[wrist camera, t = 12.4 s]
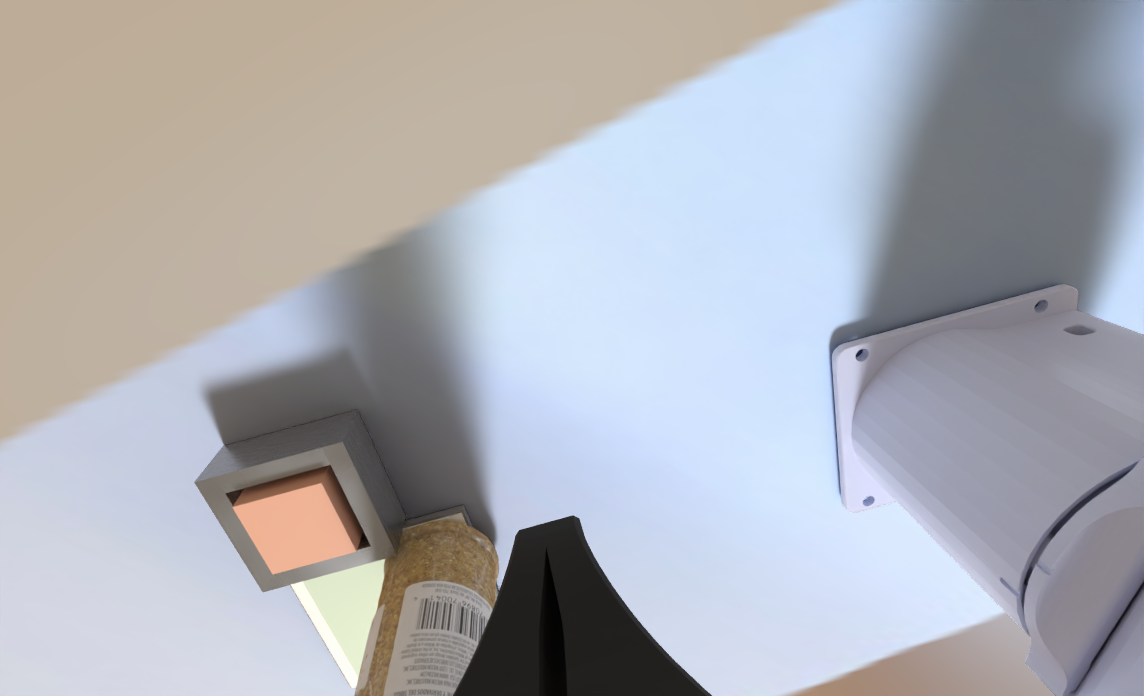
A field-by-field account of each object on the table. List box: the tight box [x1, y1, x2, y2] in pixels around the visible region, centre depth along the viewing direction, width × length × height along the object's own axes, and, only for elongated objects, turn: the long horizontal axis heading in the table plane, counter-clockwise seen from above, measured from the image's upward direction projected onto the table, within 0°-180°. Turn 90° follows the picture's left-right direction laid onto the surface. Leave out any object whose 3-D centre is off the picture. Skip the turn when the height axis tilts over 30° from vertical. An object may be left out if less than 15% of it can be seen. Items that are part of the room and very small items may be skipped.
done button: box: [232, 465, 363, 574], centre depth 21 cm, size 3×3×2 cm
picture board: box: [290, 505, 499, 688], centre depth 25 cm, size 8×8×1 cm
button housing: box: [195, 410, 406, 592], centre depth 21 cm, size 5×5×2 cm
